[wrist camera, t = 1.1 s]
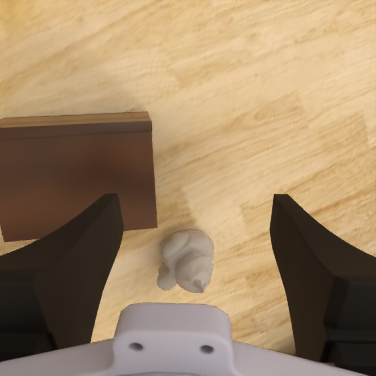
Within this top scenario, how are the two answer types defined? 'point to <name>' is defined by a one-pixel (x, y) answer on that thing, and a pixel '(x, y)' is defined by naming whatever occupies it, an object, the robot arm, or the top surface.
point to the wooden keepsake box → (74, 170)
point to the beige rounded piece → (186, 261)
